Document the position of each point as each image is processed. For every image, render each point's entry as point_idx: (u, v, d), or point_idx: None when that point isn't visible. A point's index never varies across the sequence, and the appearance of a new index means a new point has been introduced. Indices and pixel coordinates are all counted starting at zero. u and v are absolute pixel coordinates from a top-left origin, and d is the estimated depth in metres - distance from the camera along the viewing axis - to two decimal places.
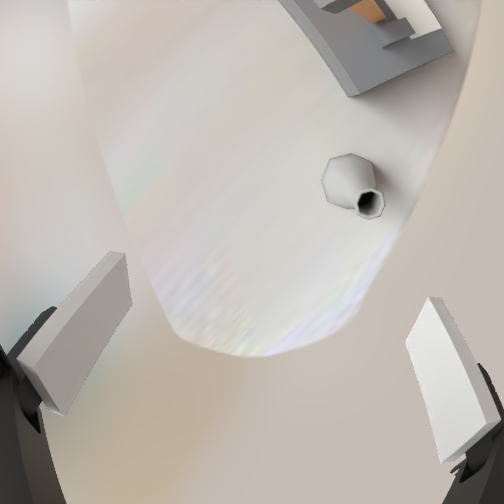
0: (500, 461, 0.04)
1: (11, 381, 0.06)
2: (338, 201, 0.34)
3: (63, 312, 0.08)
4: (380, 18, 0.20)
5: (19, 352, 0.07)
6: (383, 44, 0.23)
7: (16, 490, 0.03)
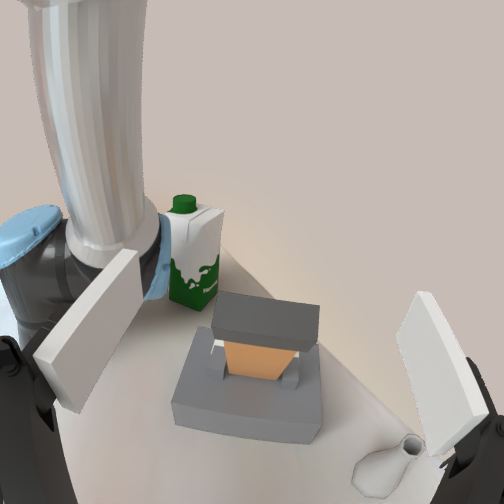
0: (489, 456, 0.05)
1: (27, 379, 0.06)
2: (392, 483, 0.25)
3: (79, 309, 0.09)
4: None
5: (33, 349, 0.07)
6: (295, 384, 0.35)
7: (28, 489, 0.03)
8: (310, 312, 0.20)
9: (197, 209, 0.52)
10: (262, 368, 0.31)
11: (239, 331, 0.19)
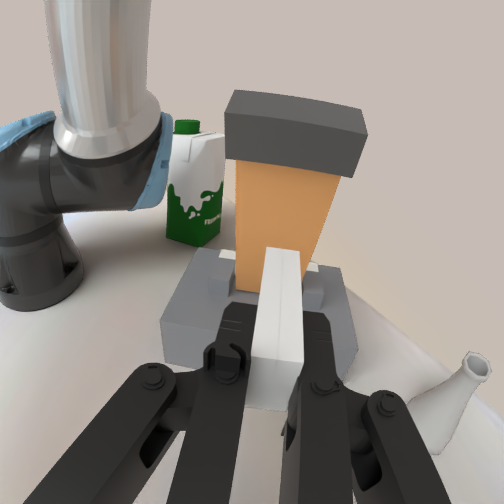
0: (311, 424, 0.06)
1: (245, 393, 0.07)
2: (451, 429, 0.19)
3: (268, 304, 0.10)
4: None
5: None
6: (319, 300, 0.29)
7: None
8: (351, 112, 0.14)
9: (201, 133, 0.46)
10: None
11: (263, 118, 0.14)
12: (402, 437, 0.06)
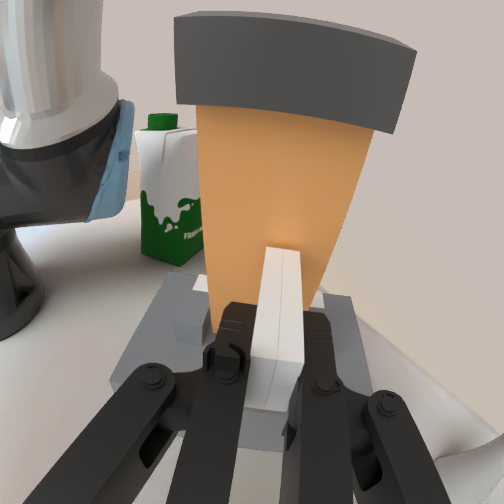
0: (312, 424, 0.06)
1: (244, 393, 0.07)
2: (482, 500, 0.11)
3: (268, 304, 0.10)
4: None
5: None
6: None
7: None
8: (380, 34, 0.08)
9: (179, 128, 0.38)
10: None
11: (238, 20, 0.07)
12: (402, 437, 0.06)
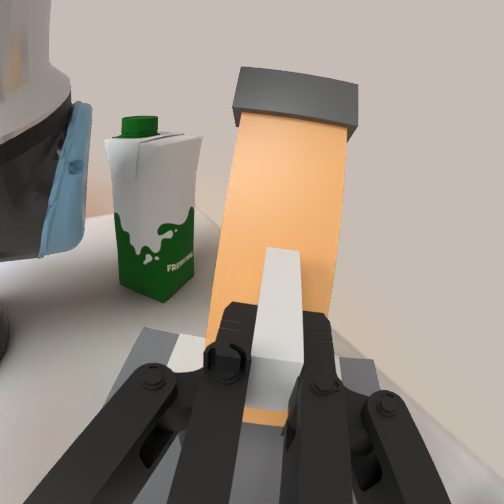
0: (311, 424, 0.06)
1: (245, 394, 0.07)
2: None
3: (268, 304, 0.10)
4: None
5: None
6: None
7: None
8: None
9: (159, 135, 0.30)
10: None
11: (272, 71, 0.15)
12: (402, 437, 0.06)
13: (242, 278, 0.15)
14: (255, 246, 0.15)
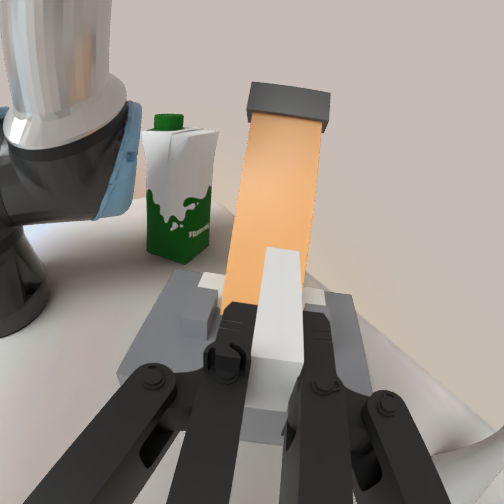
0: (311, 424, 0.06)
1: (245, 393, 0.07)
2: (478, 496, 0.11)
3: (268, 304, 0.10)
4: None
5: None
6: None
7: None
8: None
9: (185, 129, 0.38)
10: (281, 237, 0.23)
11: (272, 85, 0.24)
12: (402, 437, 0.06)
13: (253, 216, 0.24)
14: (261, 196, 0.24)
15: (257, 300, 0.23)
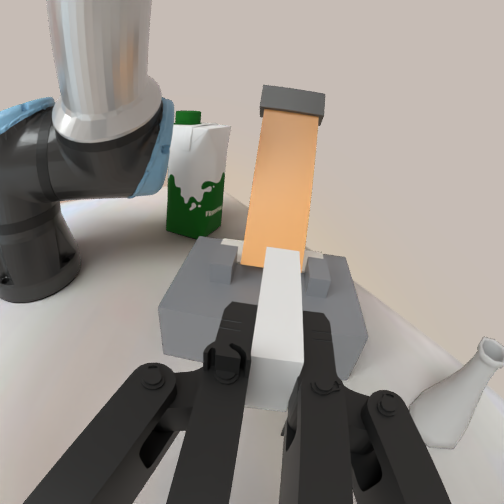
0: (311, 424, 0.06)
1: (245, 393, 0.07)
2: (466, 421, 0.18)
3: (268, 304, 0.10)
4: None
5: None
6: (326, 287, 0.28)
7: None
8: None
9: (202, 124, 0.45)
10: (288, 203, 0.30)
11: (279, 87, 0.30)
12: (402, 437, 0.06)
13: (266, 187, 0.30)
14: (272, 172, 0.30)
15: None
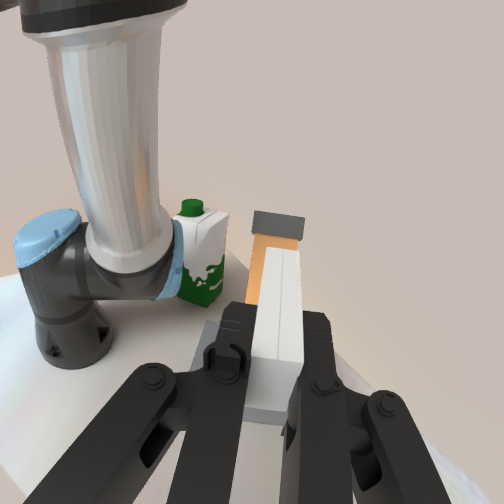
0: (311, 424, 0.06)
1: (245, 393, 0.07)
2: None
3: (268, 304, 0.10)
4: None
5: None
6: None
7: None
8: None
9: (204, 212, 0.56)
10: None
11: (268, 213, 0.42)
12: (402, 437, 0.06)
13: (255, 299, 0.42)
14: (260, 288, 0.42)
15: None
